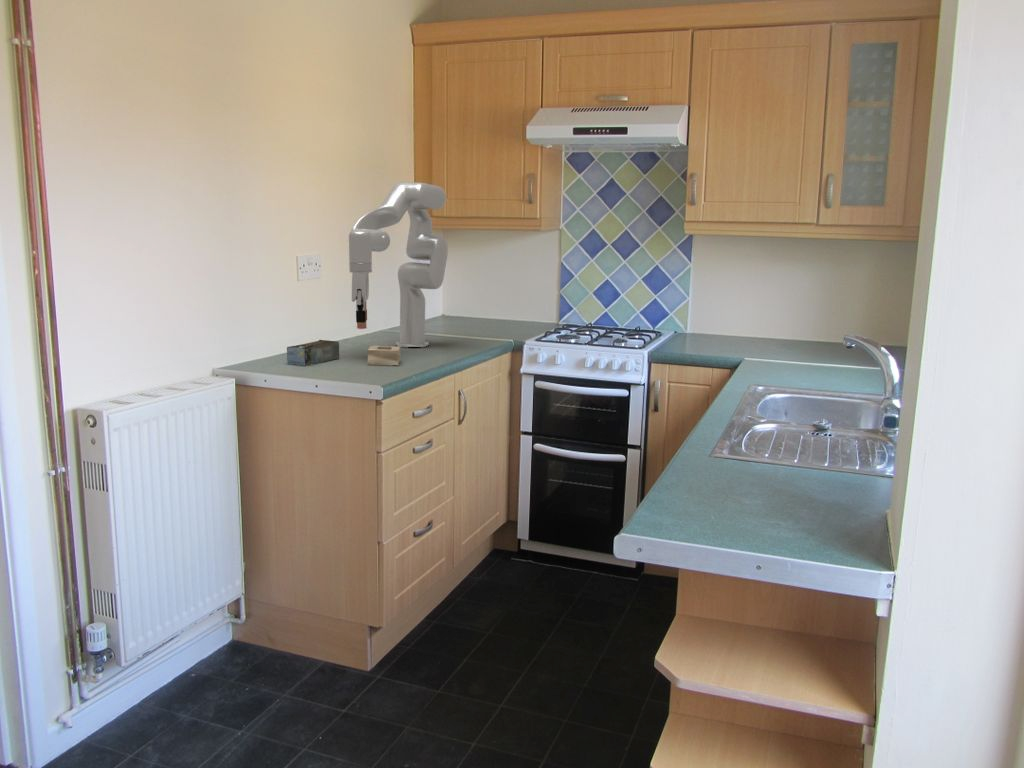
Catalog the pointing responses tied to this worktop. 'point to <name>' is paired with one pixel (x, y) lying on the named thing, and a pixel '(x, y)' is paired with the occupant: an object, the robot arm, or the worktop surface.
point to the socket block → (384, 355)
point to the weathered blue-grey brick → (313, 352)
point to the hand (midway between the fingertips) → (361, 320)
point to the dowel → (360, 324)
